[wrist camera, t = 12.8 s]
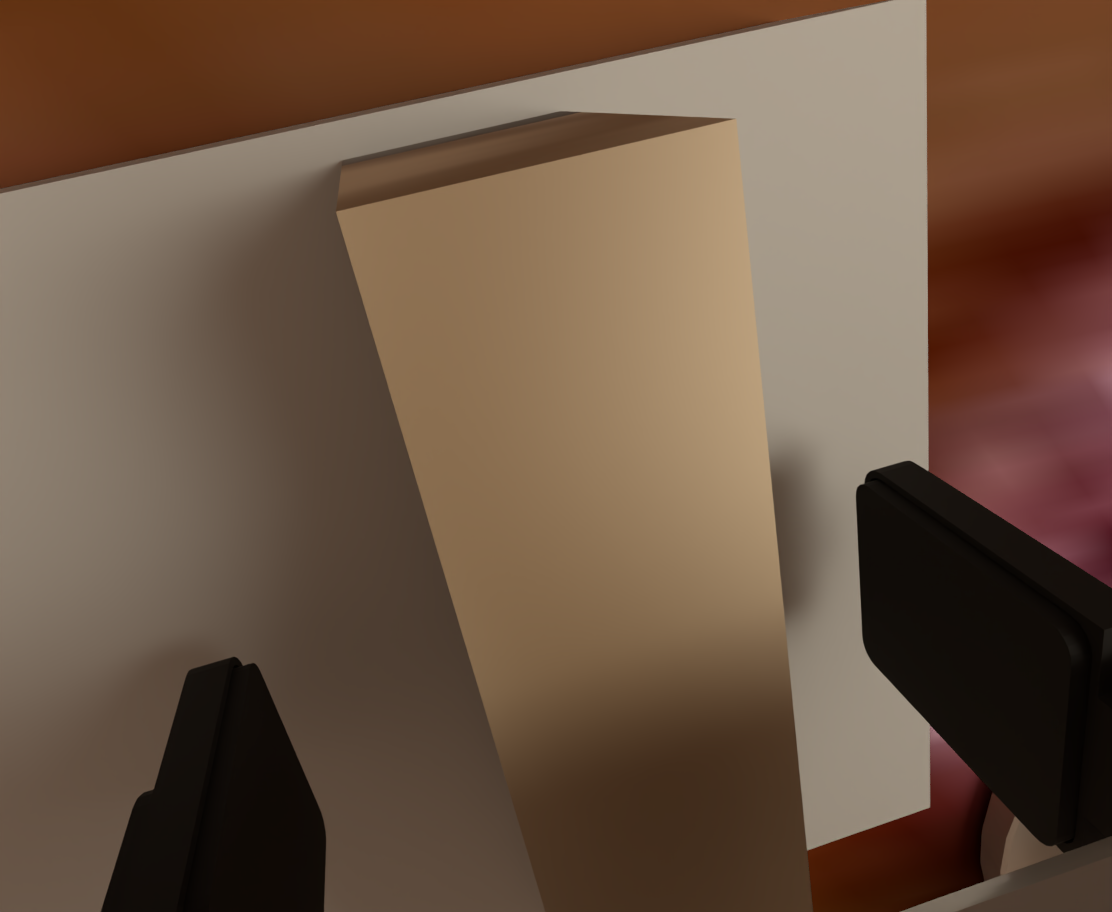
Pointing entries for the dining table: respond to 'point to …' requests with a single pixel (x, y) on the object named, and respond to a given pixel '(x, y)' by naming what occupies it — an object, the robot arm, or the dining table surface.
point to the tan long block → (599, 490)
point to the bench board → (408, 464)
